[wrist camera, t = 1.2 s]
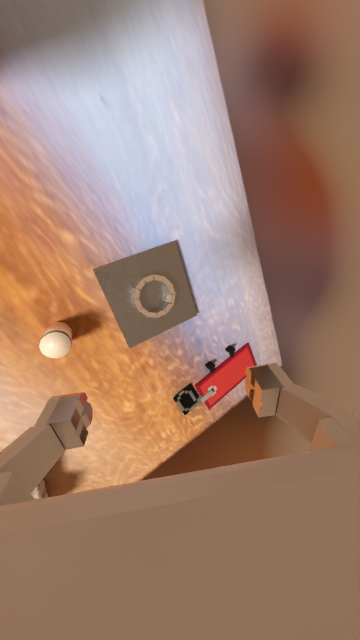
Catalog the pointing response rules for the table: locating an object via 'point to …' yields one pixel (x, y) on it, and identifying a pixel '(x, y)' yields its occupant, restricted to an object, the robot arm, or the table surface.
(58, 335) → the banded peg cylinder
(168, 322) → the ring mount
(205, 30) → the table surface
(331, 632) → the robot arm
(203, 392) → the red board with handle
